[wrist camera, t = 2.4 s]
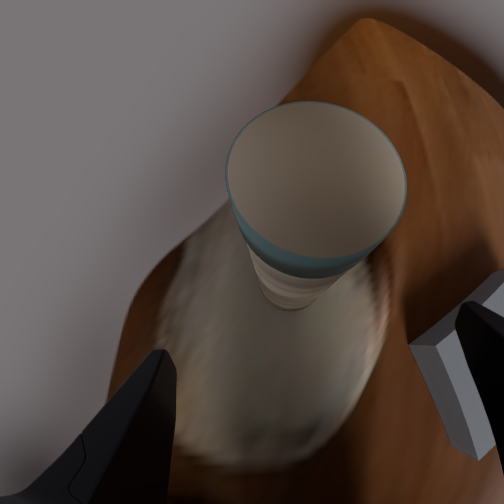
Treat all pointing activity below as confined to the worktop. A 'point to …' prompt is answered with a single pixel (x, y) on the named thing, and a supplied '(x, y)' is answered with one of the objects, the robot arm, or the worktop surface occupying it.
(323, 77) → the worktop surface
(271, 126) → the birch peg
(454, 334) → the socket block
